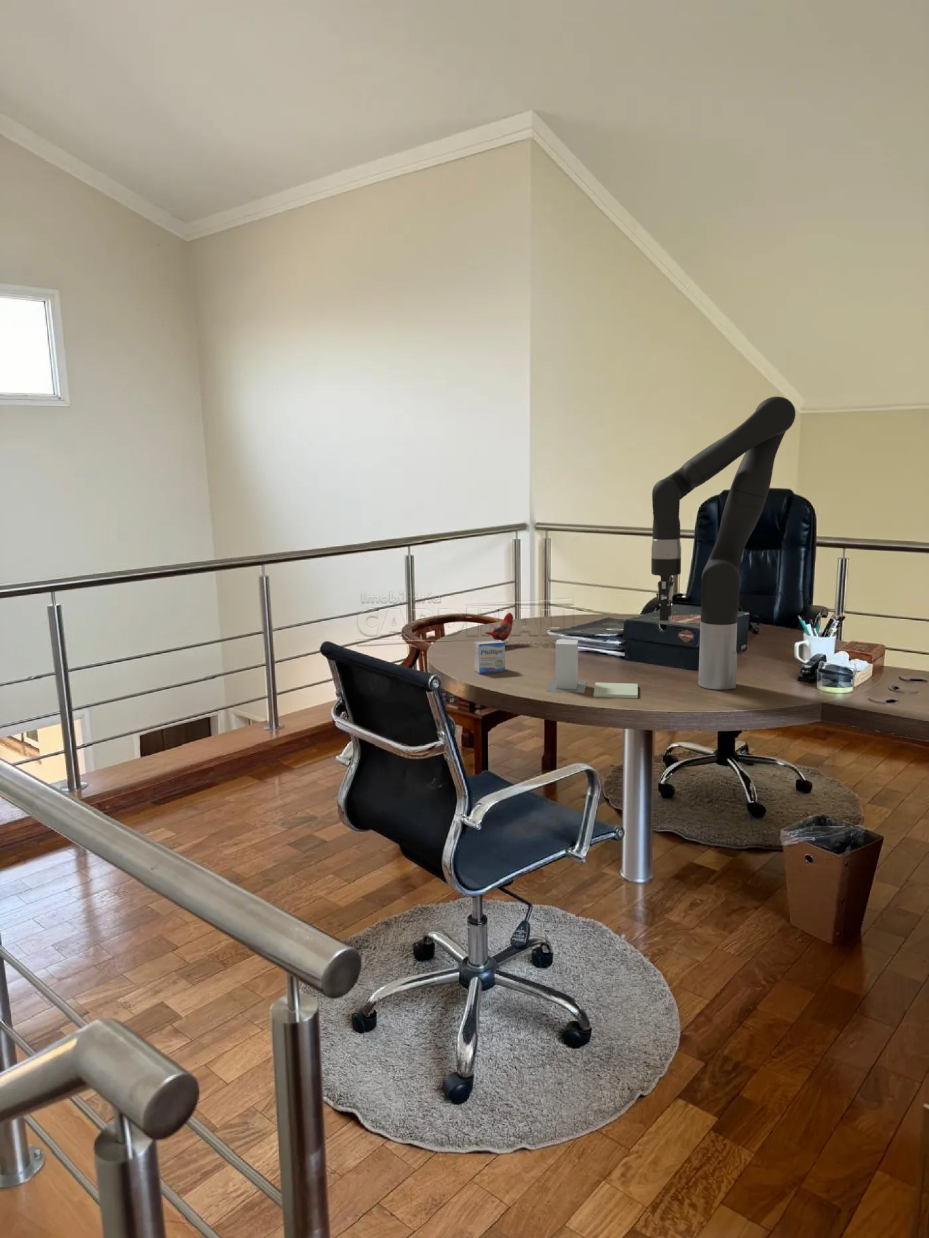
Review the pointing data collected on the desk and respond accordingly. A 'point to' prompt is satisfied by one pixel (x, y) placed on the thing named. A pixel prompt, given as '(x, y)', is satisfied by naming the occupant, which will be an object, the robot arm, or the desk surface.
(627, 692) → the sage mat
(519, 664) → the desk surface
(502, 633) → the decorative bird figurine
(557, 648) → the light grey block
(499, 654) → the medicine box
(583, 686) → the tile
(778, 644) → the desk surface
